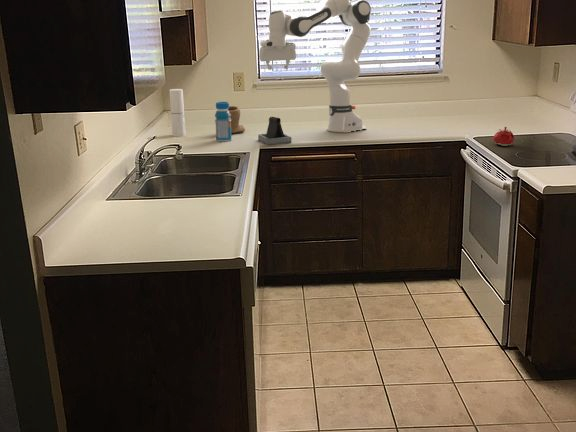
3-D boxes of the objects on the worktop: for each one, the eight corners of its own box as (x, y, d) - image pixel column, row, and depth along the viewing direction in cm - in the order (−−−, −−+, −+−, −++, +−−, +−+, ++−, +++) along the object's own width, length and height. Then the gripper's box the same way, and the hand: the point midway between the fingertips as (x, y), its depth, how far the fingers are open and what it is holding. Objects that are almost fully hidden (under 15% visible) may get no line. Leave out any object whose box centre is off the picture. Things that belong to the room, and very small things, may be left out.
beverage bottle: (220, 142, 334) (218, 104, 328) (213, 139, 341) (211, 102, 334) (234, 140, 338) (233, 102, 332) (227, 138, 345) (225, 100, 339)
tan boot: (226, 136, 350) (224, 108, 345) (216, 133, 359) (215, 106, 355) (250, 133, 357) (249, 106, 353) (240, 130, 367) (239, 103, 362)
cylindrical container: (170, 135, 354) (166, 89, 346) (180, 133, 359) (177, 88, 351) (178, 137, 350) (174, 90, 342) (188, 135, 355) (185, 89, 347)
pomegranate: (488, 145, 320) (489, 126, 318) (504, 143, 324) (506, 124, 321) (501, 148, 312) (503, 129, 309) (518, 146, 315) (519, 127, 312)
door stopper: (272, 142, 330) (271, 119, 326) (264, 140, 334) (264, 117, 330) (285, 139, 335) (285, 117, 331) (278, 138, 340) (277, 115, 336)
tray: (281, 137, 343) (280, 132, 342) (291, 142, 331) (291, 136, 330) (258, 140, 338) (258, 134, 338) (268, 145, 326) (267, 139, 325)
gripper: (293, 41, 345) (293, 67, 350) (257, 42, 338) (258, 69, 342) (297, 42, 340) (298, 68, 344) (261, 43, 332) (262, 70, 337)
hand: (278, 69), depth 343 cm, fingers open, 8 cm apart
